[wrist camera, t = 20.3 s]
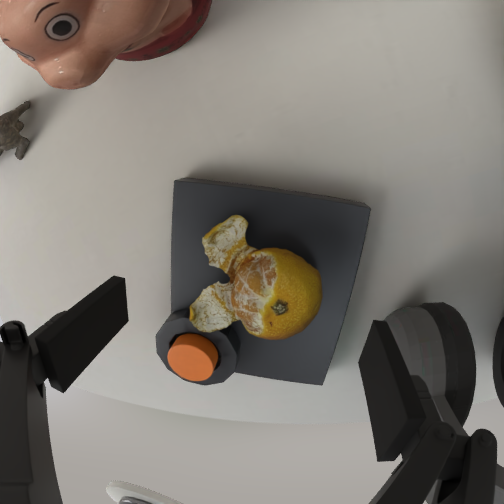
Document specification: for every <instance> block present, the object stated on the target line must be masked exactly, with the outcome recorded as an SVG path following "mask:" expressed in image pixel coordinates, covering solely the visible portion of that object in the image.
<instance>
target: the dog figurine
mask: <svg viewBox="0 0 504 504" xmlns="http://www.w3.org/2000/svg"><path fill="white" fill-rule="evenodd" d="M29 105H30V102H29V101H26V102H24V103H23V104H21V105H20V106H19V107H17V108H16V109H15V110H12V111H10V112H8V113H5V114H3V115H1V116H0V155H1V154H2V153H3V151H4V150H5V151H7V150H10V149H12V148H14V147H17V149H16V153H15V155H16V157H17V159H19V160H22V158H23V154H24V153H25V151H26V147H27V145H28V144H29V140H28V138H25V137H22V136H21V135H20V134H19V132H20V131H21V130H22V129H23V127H24V124H23V122H22V121H19V120H18V118H19V117H20V116H21V115H22V114H23V113H24V112H25V111H26V110H27V109H28V108H29Z"/></svg>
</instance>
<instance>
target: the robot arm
mask: <svg viewBox="0 0 504 504" xmlns="http://www.w3.org/2000/svg"><path fill="white" fill-rule="evenodd" d="M128 321H129V320H128V310H127V298H126V285H125V278H122V277H118V276H112V277H111V278H110V279H108V280H107V281H106V282H104V283H103V284H102V285H100V286H99V287H98V288H96V289H95V290H94V291H92V292H91V293H90V294H88V295H87V296H86V297H85V298H83V299H82V300H81V301H79V302H78V303H77V304H76V305H74V306H73V307H72V308H70V309H69V310H68V311H63V312H61V313H58V314H56V315H55V316H53V317H52V318H51V319H50V320H49V321H47V322H46V323H44V325H42V326H41V327H39V328H38V329H37V330H36V331H35V332H33V333H32V334H31V335H30V336H27V333H26V330H25V326H24V324H23V323H22V322H20V321H9V322H7V323H5V324H3V325H2V326H1V327H0V335H1V338H2V341H3V342H0V504H63V503H62V499H61V495H60V490H59V486H58V482H57V477H56V472H55V467H54V462H53V456H52V449H51V442H50V435H49V426H48V417H47V405H46V387H45V385H44V381H45V380H46V379H47V378H48V379H49V382H50V384H51V387H53V388H55V389H57V390H58V391H60V392H62V393H64V392H65V391H66V390H67V389H68V388H69V386H70V385H71V384H72V383H73V382H74V381H75V380H76V378H77V377H78V376H79V375H80V374H81V373H82V372H83V370H84V369H85V368H86V367H87V366H88V365H89V364H90V363H91V362H92V360H93V359H94V358H95V357H96V356H97V355H98V354H99V353H100V352H101V350H102V349H103V348H104V347H105V346H106V345H107V344H108V343H109V342H110V341H111V339H112V338H113V337H114V336H115V335H116V334H117V333H118V332H119V331H120V330H121V329H122V328H123V326H124V325H125V324H126V323H127V322H128ZM358 364H359V368H360V372H361V377H362V381H363V386H364V391H365V396H366V400H367V405H368V410H369V416H370V421H371V426H372V431H373V437H374V443H375V449H376V455H377V461H378V462H380V461H394V460H395V459H396V458H397V457H398V456H399V455H400V453H401V455H402V459H403V460H402V462H401V463H400V464H399V465H398V466H397V468H396V469H395V470H394V471H393V472H392V475H391V477H390V478H389V479H388V480H387V482H386V483H385V484H384V486H383V487H382V488H381V489H380V491H379V492H378V493H377V494H376V496H375V497H374V498H373V499H372V500H371V502H370V503H369V504H423V502H424V501H425V499H426V497H427V496H428V494H429V492H430V491H431V489H432V487H433V485H434V484H435V482H436V480H437V485H436V488H435V492H434V496H433V500H432V503H431V504H493V503H494V494H495V484H496V468H497V441H496V438H495V436H494V434H492V433H491V432H490V431H488V430H486V429H478V430H476V431H475V432H474V433H473V434H472V436H471V437H470V436H464V435H458V434H456V431H455V430H454V428H453V427H452V426H451V425H449V424H448V423H446V422H443V421H441V418H440V416H439V413H438V411H437V408H436V406H435V404H434V401H433V399H432V396H431V394H430V392H429V389H428V387H427V385H426V382H425V381H424V380H423V379H422V378H421V377H420V376H419V375H410V373H409V371H408V368H407V366H406V364H405V361H404V359H403V356H402V354H401V352H400V349H399V347H398V345H397V343H396V340H395V338H394V336H393V334H392V331H391V329H390V327H389V325H388V323H387V321H378V320H373V323H372V326H371V329H370V332H369V334H368V337H367V340H366V343H365V346H364V348H363V351H362V354H361V356H360V359H359V362H358ZM119 504H152V503H149V502H147V501H144V500H141V499H137V498H134V497H129V496H123V497H121V499H120V501H119Z"/></svg>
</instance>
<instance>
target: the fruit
mask: <svg viewBox="0 0 504 504" xmlns="http://www.w3.org/2000/svg"><path fill="white" fill-rule="evenodd" d="M247 227H248V222H247V220H246V219H245V218H243V217H242V216H239V215H234V216H231V217H230V218H228V219H227V220H226V221H224V222H223V223H219V224H218V225H216V226H215V227H213V228H212V229H211V230H210V232H208V233H207V234H205V236H204V237H203V238H202V243H203V246H204V248H205V254H206V255H207V256H208V258H209V265H211V266H215V267H217V268H221V269H222V270H223V271H224V272H225V273H226V274H228V276H229V277H230V281H229V282H228V283H226V284H221V283H219V281H218V282H217V283H215V284H213V285H210V286H208V287H207V288H206V289H203V291H202V293H201V295H200V296H199V297H198V298H197V299H196V301H195V302H194V303H192V304H191V305H190V318H189V319H190V321H191V322H192V324H193V325H194V327H196V328H197V329H198V330H199V331H202V332H213V331H216V330H221V329H223V328H227V327H228V326H229V325H231V323H232V322H234V321H238V320H241V321H242V323H243V325H244V327H245V328H246V330H247V331H248V332H249V333H250V334H252V335H254V336H256V337H260V338H263V339H268V340H284V339H287V338H289V337H292V336H294V335H295V334H298V333H300V332H302V331H303V330H304V329H305V328H306V327H307V326H308V325H309V324H310V323H311V322H312V320H314V318H315V316H316V315H317V314H318V311H319V309H320V306H321V302H322V298H323V294H322V282H321V275H320V273H319V271H318V270H317V269H315V268H314V267H312V266H311V264H308V263H307V262H306V261H305V260H304V259H303V258H302V257H300V256H298V255H296V254H294V253H293V252H291V251H289V250H287V249H279V248H274V247H273V248H263V249H261V250H258V249H256V248H254V247H251V246H249V245H248V244H247V242H246V239H245V232H246V229H247Z"/></svg>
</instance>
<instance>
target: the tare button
mask: <svg viewBox="0 0 504 504" xmlns="http://www.w3.org/2000/svg"><path fill="white" fill-rule="evenodd" d="M217 361H218V352H217V349H216V347H215V346H214V344H213V343H212V342H211V341H210V340H208V339H207V338H205V337H203V336H201V335H199V334H194V333H187V334H183V335H181V336H179V337H178V338H177V339H176V340H175V342H174V344H173V345H172V347H171V348H170V350H169V352H168V362H169V365H170V366H171V368H172V369H173V370H174V372H176V373H177V374H178V375H179V376H181V377H183V378H185V379H187V380H191V381H203V380H206V379H208V378H209V377H210V376H211V375H212V373H213V371H214V368H215V366H216V363H217Z"/></svg>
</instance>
